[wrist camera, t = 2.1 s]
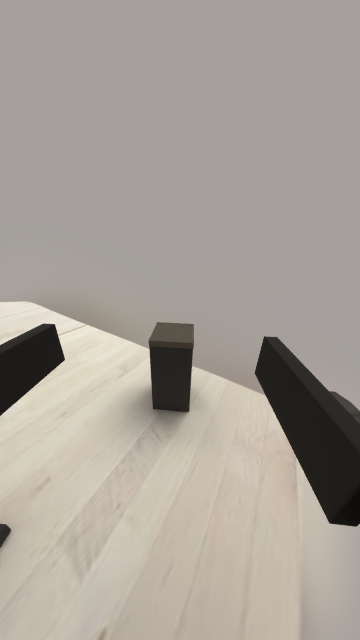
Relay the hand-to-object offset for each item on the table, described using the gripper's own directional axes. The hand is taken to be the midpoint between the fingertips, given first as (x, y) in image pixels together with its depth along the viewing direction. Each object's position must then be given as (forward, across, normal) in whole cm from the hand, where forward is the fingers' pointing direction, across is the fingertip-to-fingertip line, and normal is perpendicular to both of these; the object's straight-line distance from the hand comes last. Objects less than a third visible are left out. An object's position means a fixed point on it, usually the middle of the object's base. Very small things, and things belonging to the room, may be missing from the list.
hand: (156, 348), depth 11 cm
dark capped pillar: (+10, 0, -15) cm, 18 cm away
